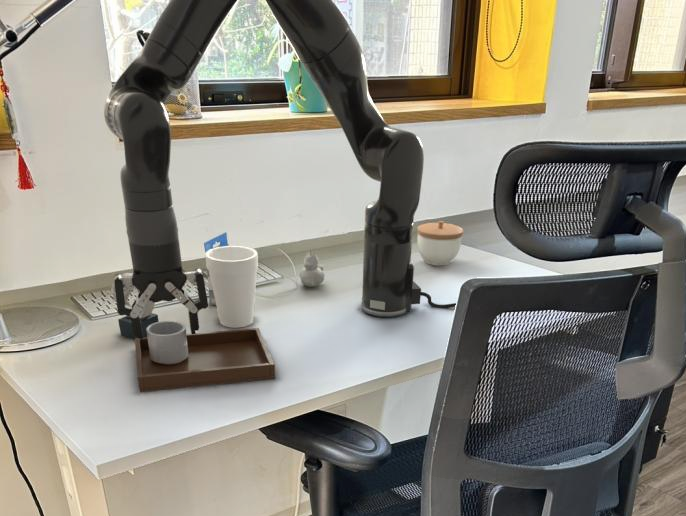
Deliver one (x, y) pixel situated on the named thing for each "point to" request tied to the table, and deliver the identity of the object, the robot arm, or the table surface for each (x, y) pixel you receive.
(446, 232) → the trinket box
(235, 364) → the tray
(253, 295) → the foam cup
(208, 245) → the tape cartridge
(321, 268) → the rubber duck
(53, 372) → the table surface
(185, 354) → the grey cup
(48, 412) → the table surface
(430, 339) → the table surface
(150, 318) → the ring sculpture on stand
